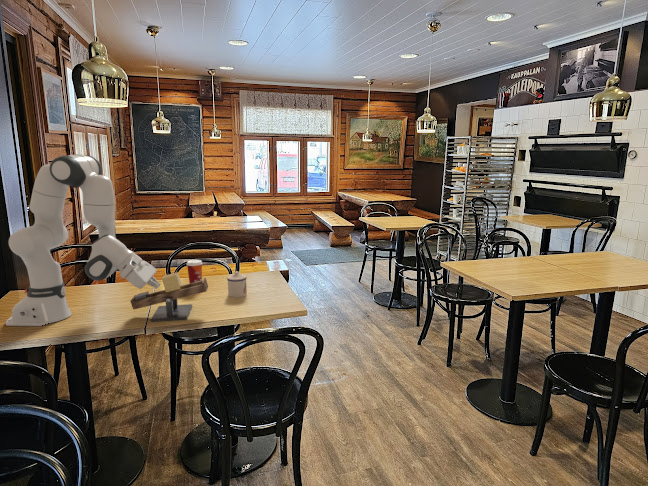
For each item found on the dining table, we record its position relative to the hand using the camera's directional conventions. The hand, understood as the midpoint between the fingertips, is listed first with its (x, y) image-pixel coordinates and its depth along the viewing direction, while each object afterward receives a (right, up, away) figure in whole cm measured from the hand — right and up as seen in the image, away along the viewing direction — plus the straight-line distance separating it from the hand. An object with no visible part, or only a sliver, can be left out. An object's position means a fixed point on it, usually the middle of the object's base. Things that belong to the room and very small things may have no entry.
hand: (158, 286), depth 174 cm
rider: (+6, -3, +2) cm, 7 cm away
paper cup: (+4, -5, +38) cm, 39 cm away
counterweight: (-6, -6, 0) cm, 9 cm away
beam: (+5, -6, +2) cm, 8 cm away
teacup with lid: (+27, -7, +29) cm, 40 cm away
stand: (+5, -12, +3) cm, 13 cm away
